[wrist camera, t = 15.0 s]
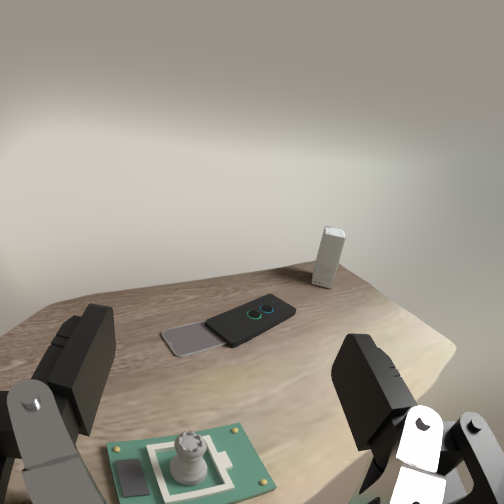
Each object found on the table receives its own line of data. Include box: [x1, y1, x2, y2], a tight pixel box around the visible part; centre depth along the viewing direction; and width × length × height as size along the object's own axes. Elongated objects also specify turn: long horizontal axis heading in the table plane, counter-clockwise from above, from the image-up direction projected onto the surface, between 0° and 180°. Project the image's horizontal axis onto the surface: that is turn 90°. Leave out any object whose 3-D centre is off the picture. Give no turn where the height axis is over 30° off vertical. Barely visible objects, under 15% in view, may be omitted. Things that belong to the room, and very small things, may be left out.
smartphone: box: [162, 320, 226, 358], centre depth 55 cm, size 7×1×15 cm
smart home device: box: [205, 294, 296, 348], centre depth 62 cm, size 8×2×20 cm
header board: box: [106, 423, 277, 504], centre depth 28 cm, size 18×11×2 cm, turn 115°
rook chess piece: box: [169, 431, 207, 486], centre depth 27 cm, size 4×4×8 cm
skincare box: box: [312, 226, 346, 289], centre depth 83 cm, size 8×6×15 cm
